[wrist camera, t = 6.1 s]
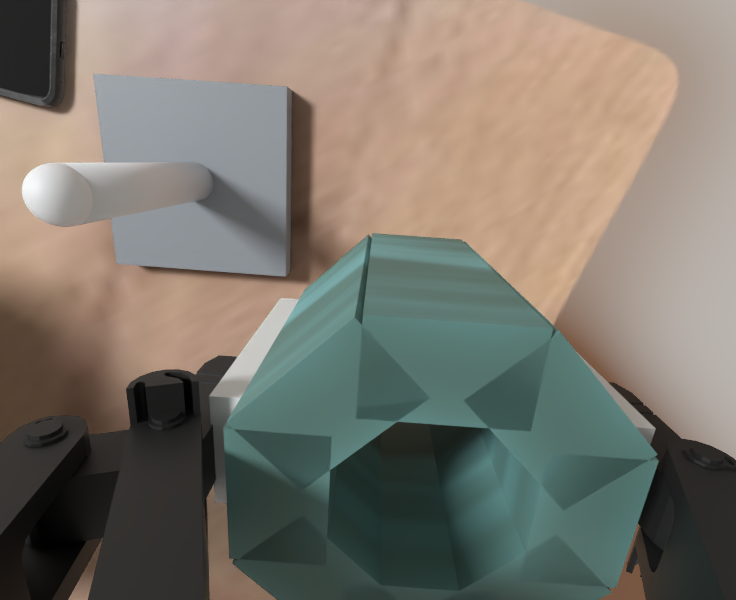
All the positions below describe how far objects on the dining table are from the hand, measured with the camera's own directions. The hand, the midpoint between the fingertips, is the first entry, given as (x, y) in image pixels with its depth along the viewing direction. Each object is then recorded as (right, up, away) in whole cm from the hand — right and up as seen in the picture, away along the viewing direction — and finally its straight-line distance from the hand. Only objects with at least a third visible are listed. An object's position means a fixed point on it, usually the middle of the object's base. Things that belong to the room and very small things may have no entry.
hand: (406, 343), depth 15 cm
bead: (0, 0, 0) cm, 0 cm away
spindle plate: (-13, +10, +14) cm, 21 cm away
